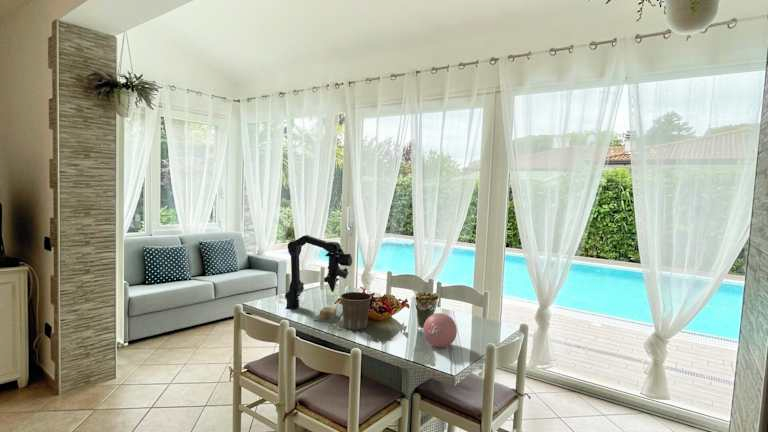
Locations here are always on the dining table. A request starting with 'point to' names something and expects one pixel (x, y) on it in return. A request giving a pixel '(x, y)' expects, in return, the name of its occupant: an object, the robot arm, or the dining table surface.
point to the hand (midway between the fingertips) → (332, 291)
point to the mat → (329, 320)
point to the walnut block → (328, 313)
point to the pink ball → (440, 330)
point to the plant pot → (355, 310)
